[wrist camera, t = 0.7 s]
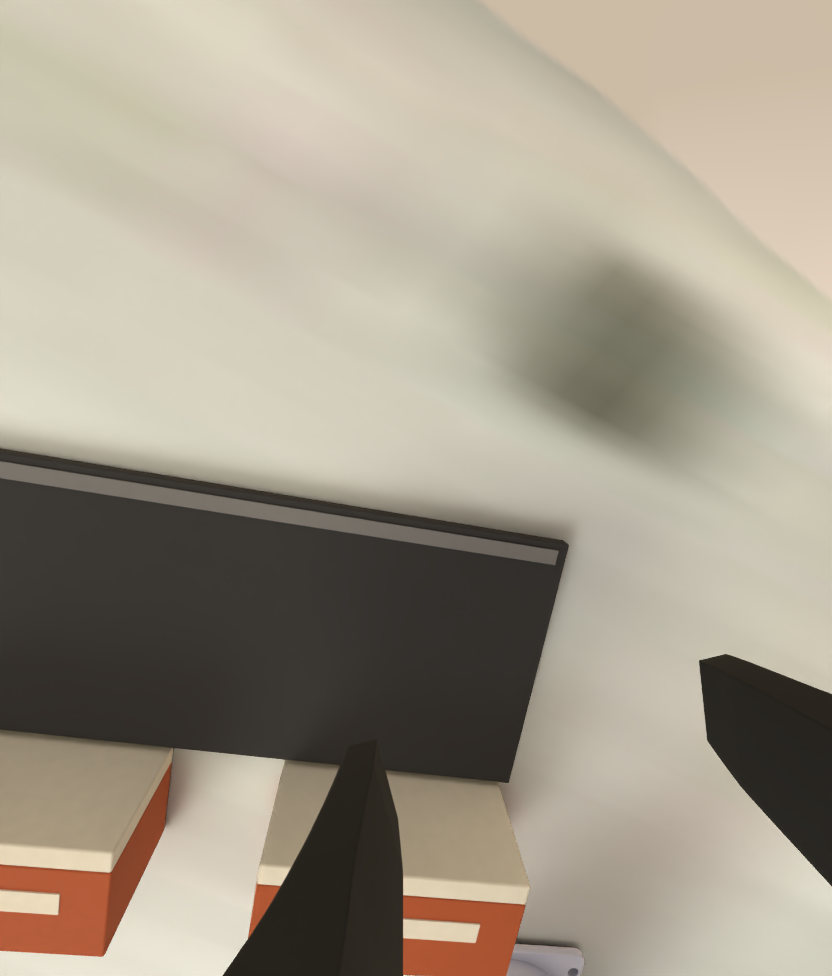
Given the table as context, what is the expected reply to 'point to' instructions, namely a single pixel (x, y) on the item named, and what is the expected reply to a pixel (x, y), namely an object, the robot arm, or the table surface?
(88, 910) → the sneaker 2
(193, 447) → the table surface
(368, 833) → the robot arm
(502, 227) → the table surface
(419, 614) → the shoe mat
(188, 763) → the table surface
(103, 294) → the table surface
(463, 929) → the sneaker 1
